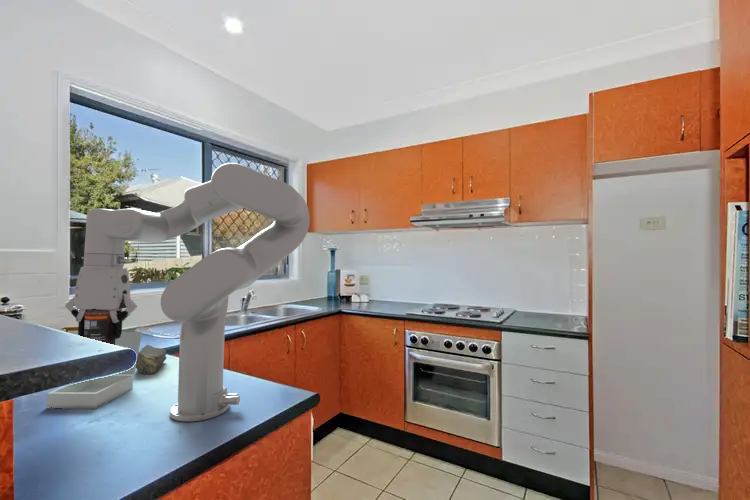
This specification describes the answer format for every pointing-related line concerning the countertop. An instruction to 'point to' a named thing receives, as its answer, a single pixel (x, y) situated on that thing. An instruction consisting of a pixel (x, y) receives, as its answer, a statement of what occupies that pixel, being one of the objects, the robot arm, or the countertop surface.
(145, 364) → the rock
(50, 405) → the white open box
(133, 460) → the countertop surface
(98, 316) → the supplement bottle
